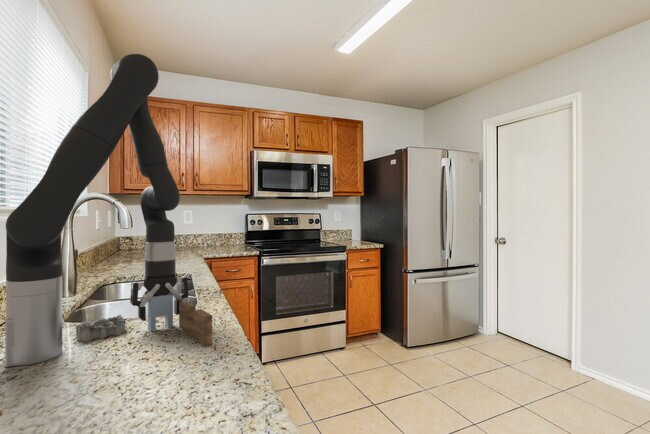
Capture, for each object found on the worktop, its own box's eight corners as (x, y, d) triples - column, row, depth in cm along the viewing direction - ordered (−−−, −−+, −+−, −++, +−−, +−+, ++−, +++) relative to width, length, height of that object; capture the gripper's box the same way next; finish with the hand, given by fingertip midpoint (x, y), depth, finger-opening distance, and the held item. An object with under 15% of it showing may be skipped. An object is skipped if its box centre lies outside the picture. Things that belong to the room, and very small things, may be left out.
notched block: (150, 331, 89) (150, 297, 89) (147, 328, 92) (147, 295, 91) (172, 326, 93) (172, 294, 93) (169, 324, 95) (169, 292, 95)
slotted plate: (203, 346, 79) (203, 316, 79) (179, 327, 93) (179, 301, 93) (212, 344, 80) (212, 315, 80) (186, 325, 94) (186, 300, 94)
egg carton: (76, 344, 81) (76, 327, 81) (74, 335, 87) (74, 319, 87) (127, 334, 88) (127, 318, 88) (122, 326, 94) (122, 312, 94)
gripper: (134, 261, 85) (134, 326, 85) (191, 257, 94) (191, 315, 94) (128, 258, 90) (128, 319, 90) (182, 254, 100) (182, 309, 100)
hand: (160, 317), depth 92 cm, fingers open, 8 cm apart
